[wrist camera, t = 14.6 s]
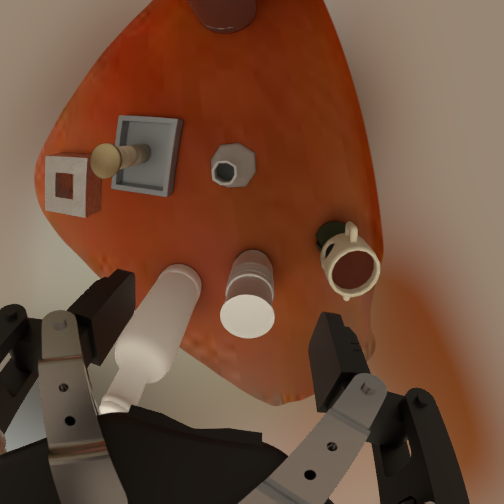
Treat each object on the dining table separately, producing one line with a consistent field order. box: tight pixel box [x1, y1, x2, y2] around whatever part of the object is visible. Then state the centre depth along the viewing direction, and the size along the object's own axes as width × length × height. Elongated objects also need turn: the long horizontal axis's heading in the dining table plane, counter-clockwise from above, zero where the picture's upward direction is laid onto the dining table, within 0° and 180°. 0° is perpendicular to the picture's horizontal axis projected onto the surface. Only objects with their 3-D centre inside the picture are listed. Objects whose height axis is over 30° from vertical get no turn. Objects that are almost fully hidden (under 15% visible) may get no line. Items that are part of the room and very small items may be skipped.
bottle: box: [99, 264, 202, 414], centre depth 37 cm, size 8×8×30 cm
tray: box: [111, 115, 183, 197], centre depth 40 cm, size 12×10×3 cm
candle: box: [220, 250, 275, 338], centre depth 42 cm, size 7×7×15 cm
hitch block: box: [45, 153, 101, 218], centre depth 41 cm, size 10×10×5 cm
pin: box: [91, 143, 151, 178], centre depth 36 cm, size 4×4×12 cm
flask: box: [211, 143, 256, 188], centre depth 38 cm, size 7×7×10 cm
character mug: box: [316, 221, 380, 301], centre depth 40 cm, size 11×7×13 cm, turn 2°
